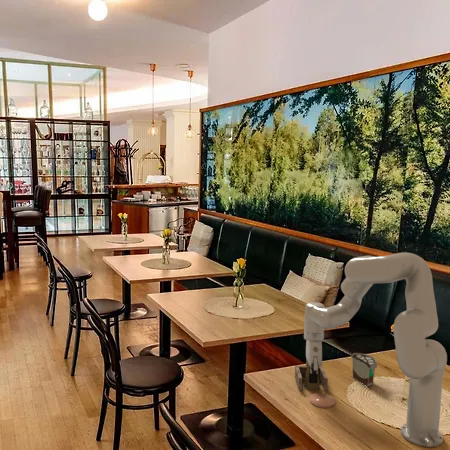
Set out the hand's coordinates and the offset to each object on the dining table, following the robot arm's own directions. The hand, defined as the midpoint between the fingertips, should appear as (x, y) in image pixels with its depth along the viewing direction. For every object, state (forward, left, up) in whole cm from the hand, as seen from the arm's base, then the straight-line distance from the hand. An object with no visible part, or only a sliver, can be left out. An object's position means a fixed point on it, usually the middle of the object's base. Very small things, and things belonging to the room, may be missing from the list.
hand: (312, 379), depth 186 cm
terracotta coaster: (-12, -2, -3) cm, 12 cm away
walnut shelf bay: (+2, 0, -3) cm, 4 cm away
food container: (+6, -23, -3) cm, 24 cm away
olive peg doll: (0, 0, -3) cm, 3 cm away
